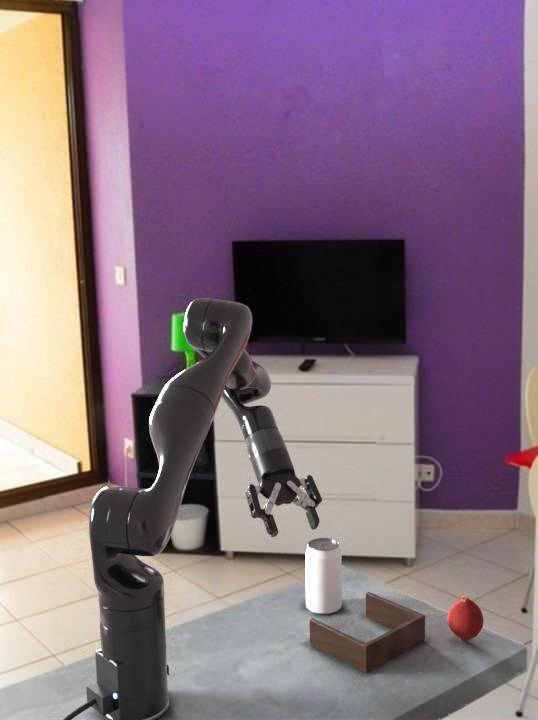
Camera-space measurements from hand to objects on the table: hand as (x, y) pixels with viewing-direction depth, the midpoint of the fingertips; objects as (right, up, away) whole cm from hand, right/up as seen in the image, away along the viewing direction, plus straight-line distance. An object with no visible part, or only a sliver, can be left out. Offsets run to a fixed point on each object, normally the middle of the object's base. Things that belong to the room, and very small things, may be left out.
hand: (295, 531), depth 170 cm
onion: (+28, -14, -20) cm, 37 cm away
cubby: (+12, -14, -20) cm, 27 cm away
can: (+5, -12, -7) cm, 15 cm away
